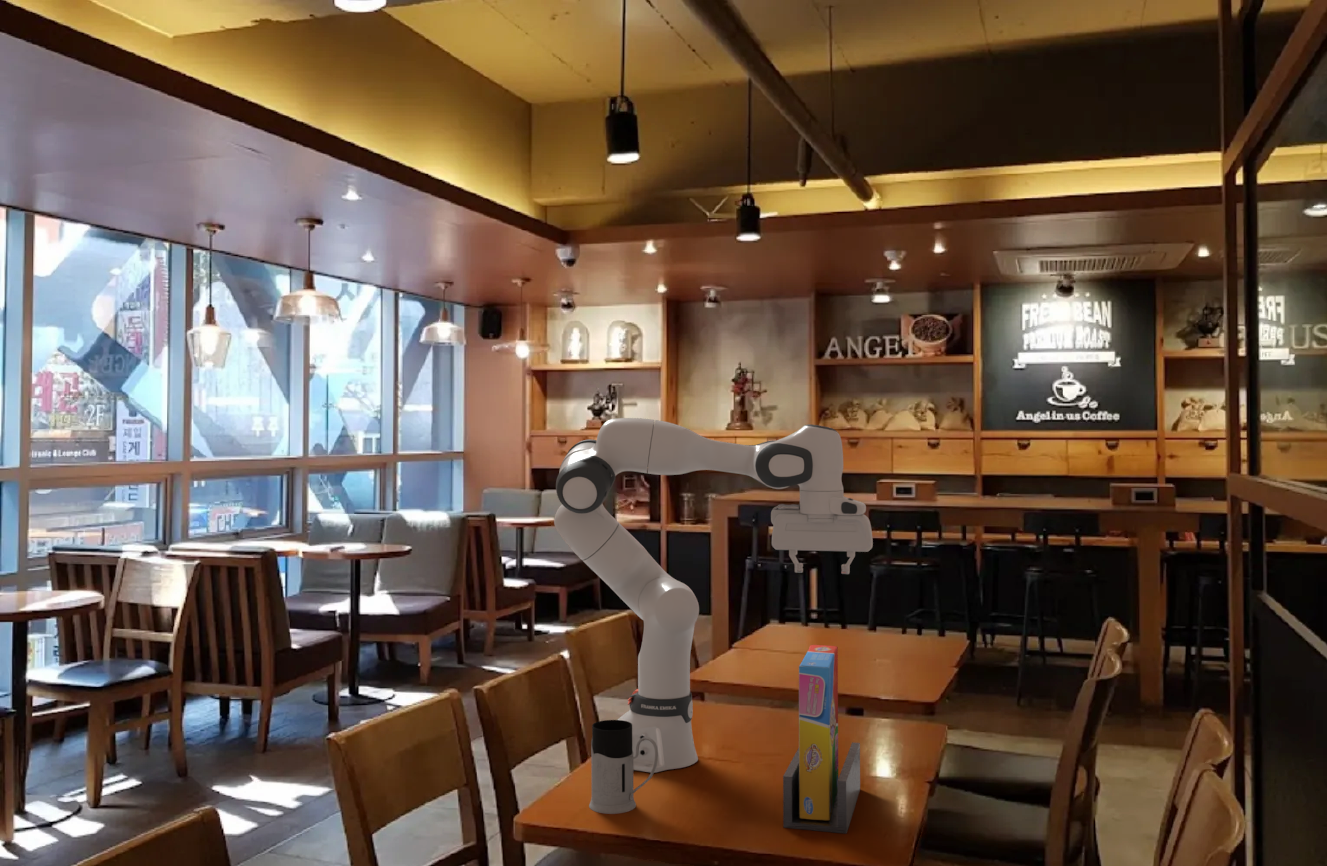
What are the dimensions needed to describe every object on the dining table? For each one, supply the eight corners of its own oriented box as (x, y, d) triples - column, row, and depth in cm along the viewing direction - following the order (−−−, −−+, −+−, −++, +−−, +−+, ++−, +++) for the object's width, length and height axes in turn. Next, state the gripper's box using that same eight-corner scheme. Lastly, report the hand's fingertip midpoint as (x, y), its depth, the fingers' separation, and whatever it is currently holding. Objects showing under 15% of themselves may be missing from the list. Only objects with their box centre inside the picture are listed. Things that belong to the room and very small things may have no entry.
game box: (829, 822, 185) (829, 667, 185) (798, 819, 186) (797, 665, 186) (838, 784, 205) (838, 644, 205) (810, 782, 206) (809, 643, 206)
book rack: (783, 827, 185) (783, 776, 185) (803, 784, 208) (803, 738, 208) (846, 833, 182) (846, 781, 182) (860, 789, 205) (859, 742, 205)
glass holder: (606, 794, 203) (605, 716, 203) (669, 807, 195) (669, 726, 196) (579, 808, 195) (579, 727, 195) (644, 822, 188) (644, 738, 188)
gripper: (768, 505, 213) (768, 573, 213) (870, 506, 208) (871, 576, 208) (773, 503, 219) (773, 569, 219) (873, 504, 214) (873, 572, 214)
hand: (822, 572), depth 213 cm, fingers open, 8 cm apart
